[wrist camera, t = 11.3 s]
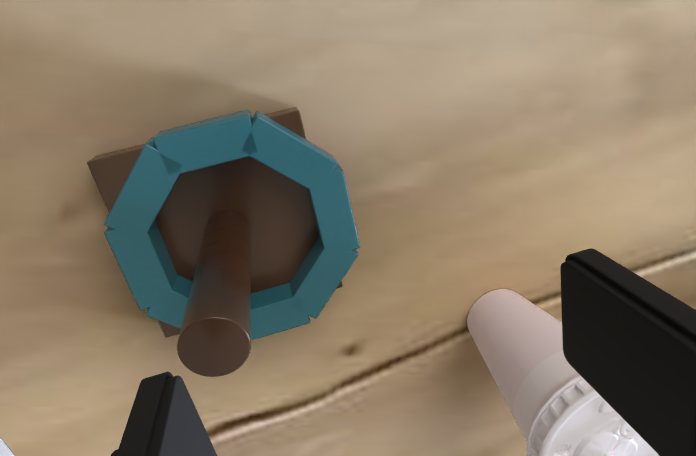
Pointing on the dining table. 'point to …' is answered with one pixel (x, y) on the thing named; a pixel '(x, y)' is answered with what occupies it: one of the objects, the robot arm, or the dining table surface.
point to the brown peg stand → (224, 244)
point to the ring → (214, 148)
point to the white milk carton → (4, 449)
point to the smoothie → (546, 382)
